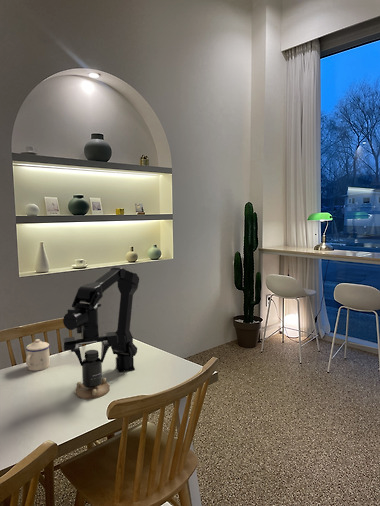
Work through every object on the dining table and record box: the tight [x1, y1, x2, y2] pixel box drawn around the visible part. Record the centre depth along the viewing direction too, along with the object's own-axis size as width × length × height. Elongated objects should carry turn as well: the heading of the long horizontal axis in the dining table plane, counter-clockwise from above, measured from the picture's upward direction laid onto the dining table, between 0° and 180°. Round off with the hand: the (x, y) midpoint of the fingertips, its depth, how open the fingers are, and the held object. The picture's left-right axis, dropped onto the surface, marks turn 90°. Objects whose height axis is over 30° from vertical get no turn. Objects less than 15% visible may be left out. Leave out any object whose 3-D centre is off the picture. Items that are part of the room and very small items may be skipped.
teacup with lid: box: [25, 338, 51, 372], centre depth 161 cm, size 12×9×12 cm
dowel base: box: [74, 377, 111, 400], centre depth 141 cm, size 12×12×3 cm
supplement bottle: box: [81, 349, 103, 388], centre depth 141 cm, size 7×7×12 cm
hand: (91, 363), depth 140 cm, fingers closed on supplement bottle, 7 cm apart
